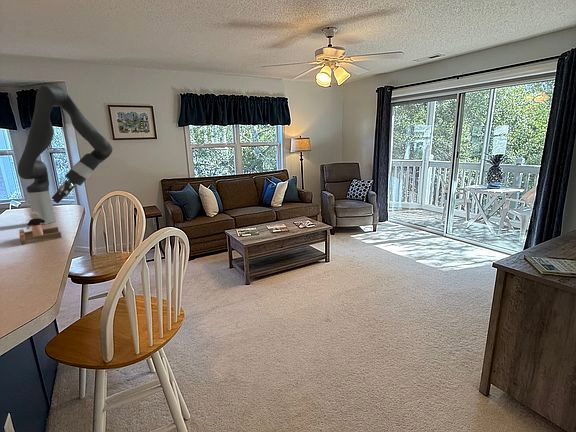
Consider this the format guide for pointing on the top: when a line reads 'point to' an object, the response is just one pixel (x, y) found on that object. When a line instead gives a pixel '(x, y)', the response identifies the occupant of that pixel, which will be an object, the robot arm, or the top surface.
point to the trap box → (47, 235)
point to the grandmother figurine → (36, 224)
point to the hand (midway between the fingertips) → (54, 200)
